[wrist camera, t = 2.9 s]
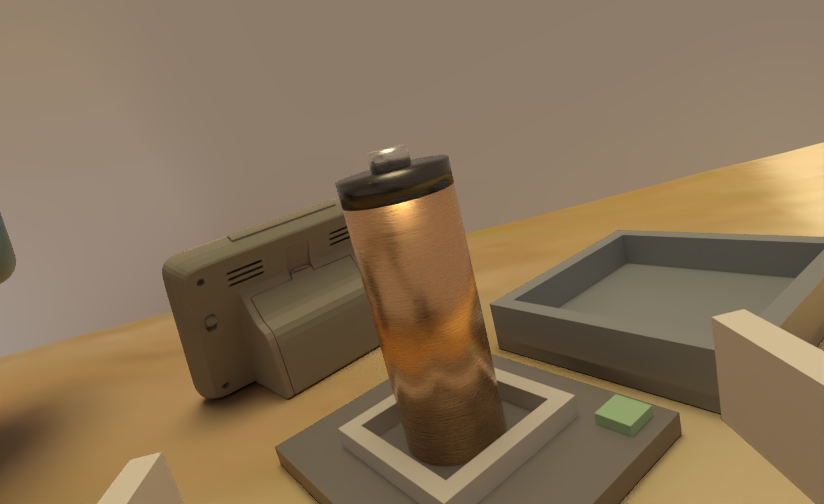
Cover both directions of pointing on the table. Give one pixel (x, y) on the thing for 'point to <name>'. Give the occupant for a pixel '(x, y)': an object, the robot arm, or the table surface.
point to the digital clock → (271, 304)
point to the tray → (662, 306)
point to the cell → (424, 303)
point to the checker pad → (489, 448)
